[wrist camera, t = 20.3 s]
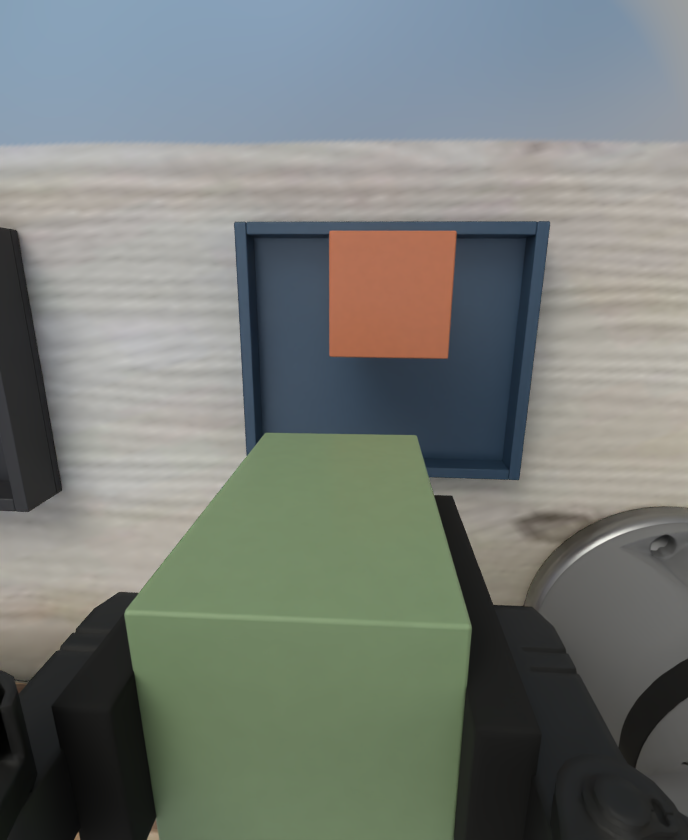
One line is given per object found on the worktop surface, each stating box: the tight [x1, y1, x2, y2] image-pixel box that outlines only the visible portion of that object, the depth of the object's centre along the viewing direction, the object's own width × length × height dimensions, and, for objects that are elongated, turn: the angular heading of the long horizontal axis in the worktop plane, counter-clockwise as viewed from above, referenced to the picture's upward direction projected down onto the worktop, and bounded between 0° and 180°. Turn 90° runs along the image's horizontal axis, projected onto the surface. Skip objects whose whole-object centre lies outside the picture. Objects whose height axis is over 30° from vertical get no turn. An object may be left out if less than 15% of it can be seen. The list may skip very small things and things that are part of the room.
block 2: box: [329, 231, 457, 359], centre depth 21 cm, size 4×4×8 cm
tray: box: [234, 221, 550, 480], centre depth 25 cm, size 15×13×2 cm
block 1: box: [124, 433, 472, 840], centre depth 10 cm, size 4×4×8 cm
